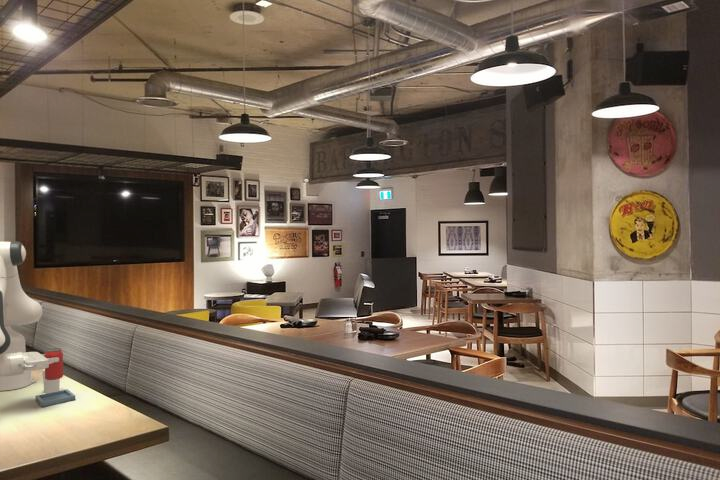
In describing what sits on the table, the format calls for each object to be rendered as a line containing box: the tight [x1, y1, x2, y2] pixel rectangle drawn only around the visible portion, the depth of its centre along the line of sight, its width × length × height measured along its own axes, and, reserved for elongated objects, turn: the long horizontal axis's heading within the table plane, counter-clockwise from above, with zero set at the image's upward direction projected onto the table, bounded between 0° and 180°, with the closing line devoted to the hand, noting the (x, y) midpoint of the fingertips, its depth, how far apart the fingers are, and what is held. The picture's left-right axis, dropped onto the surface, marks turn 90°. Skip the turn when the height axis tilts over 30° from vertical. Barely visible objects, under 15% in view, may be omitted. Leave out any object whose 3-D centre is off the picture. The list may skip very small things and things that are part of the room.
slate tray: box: [34, 388, 76, 408], centre depth 216 cm, size 12×12×2 cm
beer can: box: [44, 347, 64, 380], centre depth 215 cm, size 7×7×12 cm
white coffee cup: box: [41, 369, 61, 394], centre depth 228 cm, size 7×7×10 cm
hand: (56, 357), depth 216 cm, fingers closed on beer can, 7 cm apart
